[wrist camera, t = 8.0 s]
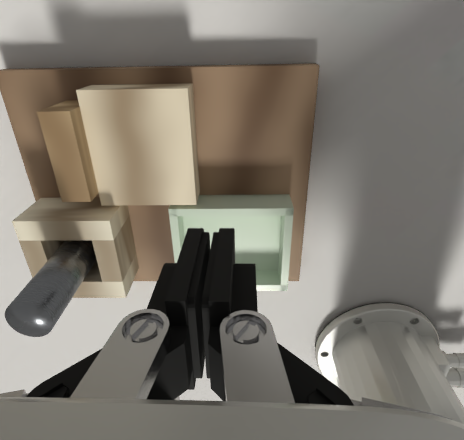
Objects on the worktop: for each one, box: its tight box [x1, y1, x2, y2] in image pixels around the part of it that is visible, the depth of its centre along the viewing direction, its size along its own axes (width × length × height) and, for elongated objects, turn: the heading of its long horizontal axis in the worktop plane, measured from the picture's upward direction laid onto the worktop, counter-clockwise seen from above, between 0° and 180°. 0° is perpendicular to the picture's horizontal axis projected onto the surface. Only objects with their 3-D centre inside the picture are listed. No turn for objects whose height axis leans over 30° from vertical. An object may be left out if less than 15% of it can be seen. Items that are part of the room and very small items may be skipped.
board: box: [0, 64, 319, 281], centre depth 26 cm, size 22×18×6 cm
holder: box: [12, 197, 139, 298], centre depth 28 cm, size 7×7×4 cm
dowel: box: [5, 240, 97, 337], centre depth 25 cm, size 3×3×10 cm
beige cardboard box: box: [76, 83, 200, 206], centre depth 24 cm, size 7×8×2 cm
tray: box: [168, 194, 294, 291], centre depth 28 cm, size 9×8×2 cm
